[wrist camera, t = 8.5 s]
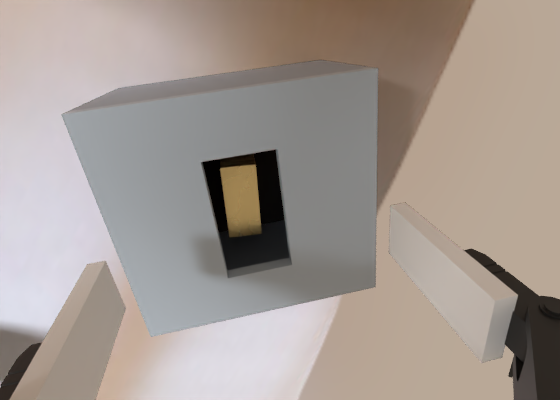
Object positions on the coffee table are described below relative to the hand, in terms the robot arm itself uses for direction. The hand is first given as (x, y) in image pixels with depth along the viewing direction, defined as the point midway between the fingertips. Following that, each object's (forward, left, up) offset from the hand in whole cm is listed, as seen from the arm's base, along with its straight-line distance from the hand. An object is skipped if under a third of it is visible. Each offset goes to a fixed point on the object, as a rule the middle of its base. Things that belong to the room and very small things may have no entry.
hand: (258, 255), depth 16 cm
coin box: (0, 0, -14) cm, 14 cm away
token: (0, 0, -14) cm, 14 cm away
